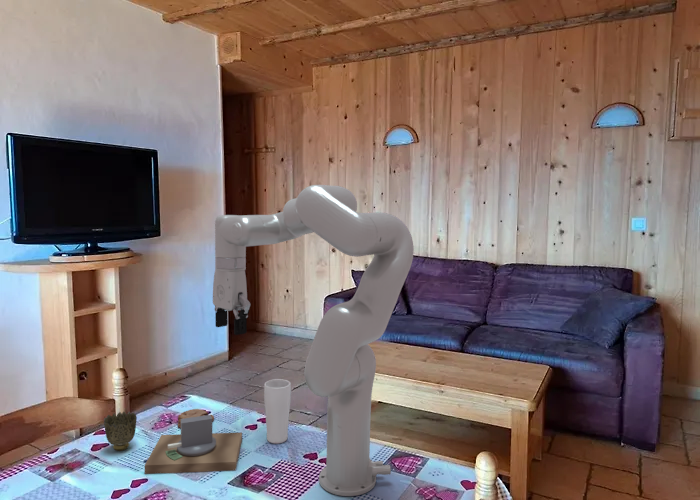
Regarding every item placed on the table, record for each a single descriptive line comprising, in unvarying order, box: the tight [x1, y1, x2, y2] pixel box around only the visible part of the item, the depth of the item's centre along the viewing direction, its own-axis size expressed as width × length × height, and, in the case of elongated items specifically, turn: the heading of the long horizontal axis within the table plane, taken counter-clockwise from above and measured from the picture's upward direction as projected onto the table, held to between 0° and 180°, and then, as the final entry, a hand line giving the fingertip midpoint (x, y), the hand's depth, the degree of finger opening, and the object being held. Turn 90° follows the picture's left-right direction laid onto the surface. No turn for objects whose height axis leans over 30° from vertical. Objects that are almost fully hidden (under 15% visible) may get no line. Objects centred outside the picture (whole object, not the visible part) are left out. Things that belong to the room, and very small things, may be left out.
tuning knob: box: [168, 414, 216, 456], centre depth 122 cm, size 11×9×7 cm
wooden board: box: [144, 432, 243, 475], centre depth 123 cm, size 20×15×2 cm
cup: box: [103, 411, 138, 452], centre depth 125 cm, size 8×7×8 cm
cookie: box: [177, 408, 215, 429], centre depth 141 cm, size 10×11×3 cm
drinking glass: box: [263, 378, 292, 444], centre depth 131 cm, size 7×7×15 cm
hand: (230, 330), depth 131 cm, fingers open, 9 cm apart
